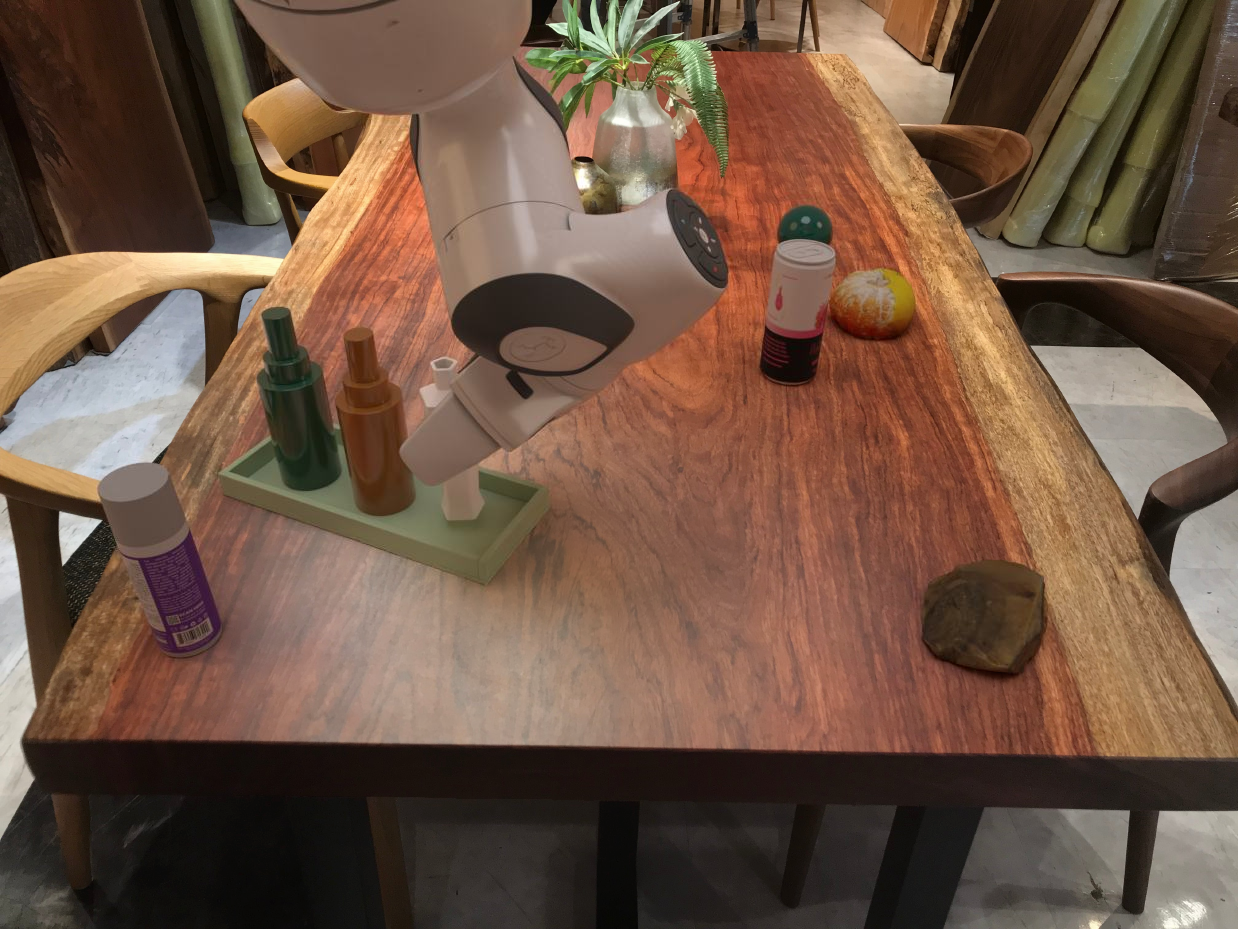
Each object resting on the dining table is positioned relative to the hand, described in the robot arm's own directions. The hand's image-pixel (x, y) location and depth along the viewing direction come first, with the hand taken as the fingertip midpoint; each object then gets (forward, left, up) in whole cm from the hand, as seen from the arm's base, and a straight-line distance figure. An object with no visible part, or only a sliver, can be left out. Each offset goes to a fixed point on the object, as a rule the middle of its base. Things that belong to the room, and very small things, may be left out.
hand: (448, 432), depth 75 cm
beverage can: (+40, -20, -10) cm, 46 cm away
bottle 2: (0, +8, -10) cm, 12 cm away
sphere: (+73, -13, -10) cm, 75 cm away
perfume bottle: (0, 0, -9) cm, 8 cm away
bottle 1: (0, +16, -10) cm, 19 cm away
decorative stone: (+7, -45, -10) cm, 46 cm away
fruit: (+57, -26, -10) cm, 63 cm away
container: (-20, +12, -10) cm, 25 cm away
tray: (0, +8, -10) cm, 13 cm away
